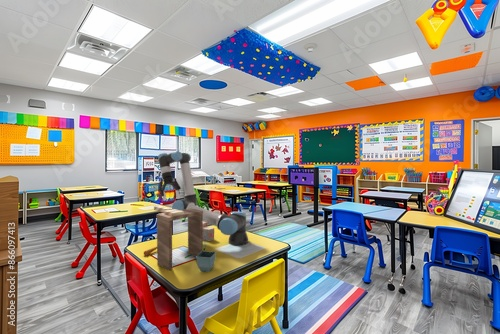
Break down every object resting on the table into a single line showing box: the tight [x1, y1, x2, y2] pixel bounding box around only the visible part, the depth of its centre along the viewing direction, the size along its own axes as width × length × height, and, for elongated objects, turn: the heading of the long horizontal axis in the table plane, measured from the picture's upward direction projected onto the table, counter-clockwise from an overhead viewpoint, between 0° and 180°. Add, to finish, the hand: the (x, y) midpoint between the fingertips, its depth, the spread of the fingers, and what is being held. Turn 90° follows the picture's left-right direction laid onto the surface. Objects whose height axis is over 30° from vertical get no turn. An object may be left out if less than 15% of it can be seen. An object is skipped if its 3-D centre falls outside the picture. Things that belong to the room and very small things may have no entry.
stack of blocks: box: [203, 221, 215, 242], centre depth 191 cm, size 21×6×12 cm, turn 49°
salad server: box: [153, 205, 184, 217], centre depth 145 cm, size 26×7×2 cm, turn 50°
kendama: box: [143, 246, 157, 257], centre depth 164 cm, size 6×6×20 cm
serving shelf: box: [155, 208, 204, 271], centre depth 146 cm, size 24×14×30 cm, turn 140°
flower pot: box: [195, 250, 217, 273], centre depth 134 cm, size 9×9×9 cm
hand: (172, 199), depth 182 cm, fingers open, 12 cm apart
